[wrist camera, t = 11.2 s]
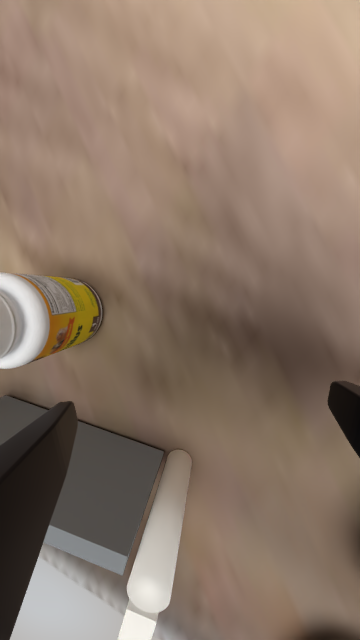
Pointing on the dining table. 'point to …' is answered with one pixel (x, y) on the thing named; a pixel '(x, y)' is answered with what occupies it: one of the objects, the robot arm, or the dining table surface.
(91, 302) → the supplement bottle
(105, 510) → the door
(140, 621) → the door frame
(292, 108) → the dining table surface
